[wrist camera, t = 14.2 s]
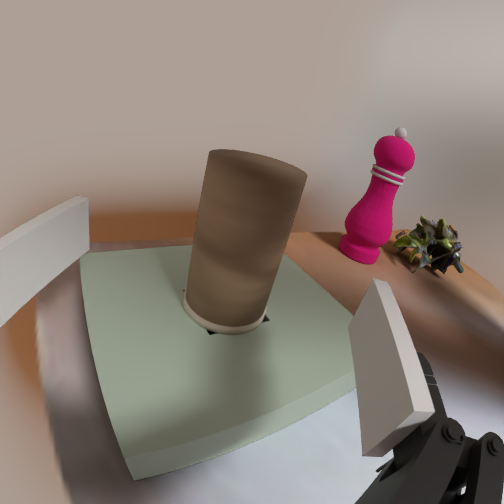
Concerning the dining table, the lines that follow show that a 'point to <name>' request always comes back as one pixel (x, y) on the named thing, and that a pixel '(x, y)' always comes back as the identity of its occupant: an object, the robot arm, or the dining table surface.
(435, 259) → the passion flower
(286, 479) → the dining table surface
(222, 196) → the walnut peg
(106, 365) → the sage board
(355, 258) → the pepper mill
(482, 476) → the robot arm
